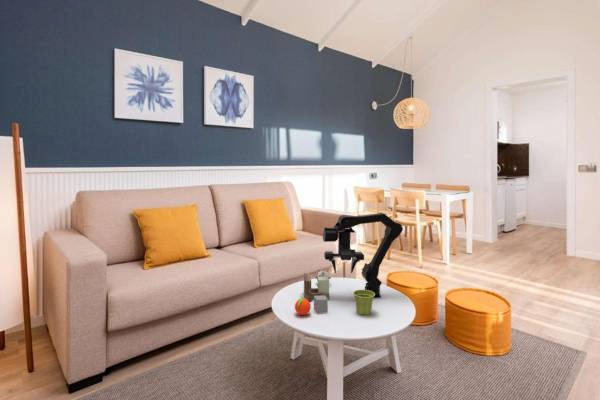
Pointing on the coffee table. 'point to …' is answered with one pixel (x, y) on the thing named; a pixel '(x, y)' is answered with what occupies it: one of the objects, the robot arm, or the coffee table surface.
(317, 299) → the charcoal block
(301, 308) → the clementine
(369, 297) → the plant pot
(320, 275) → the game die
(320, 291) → the pale green block
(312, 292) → the walnut console
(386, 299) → the coffee table surface
